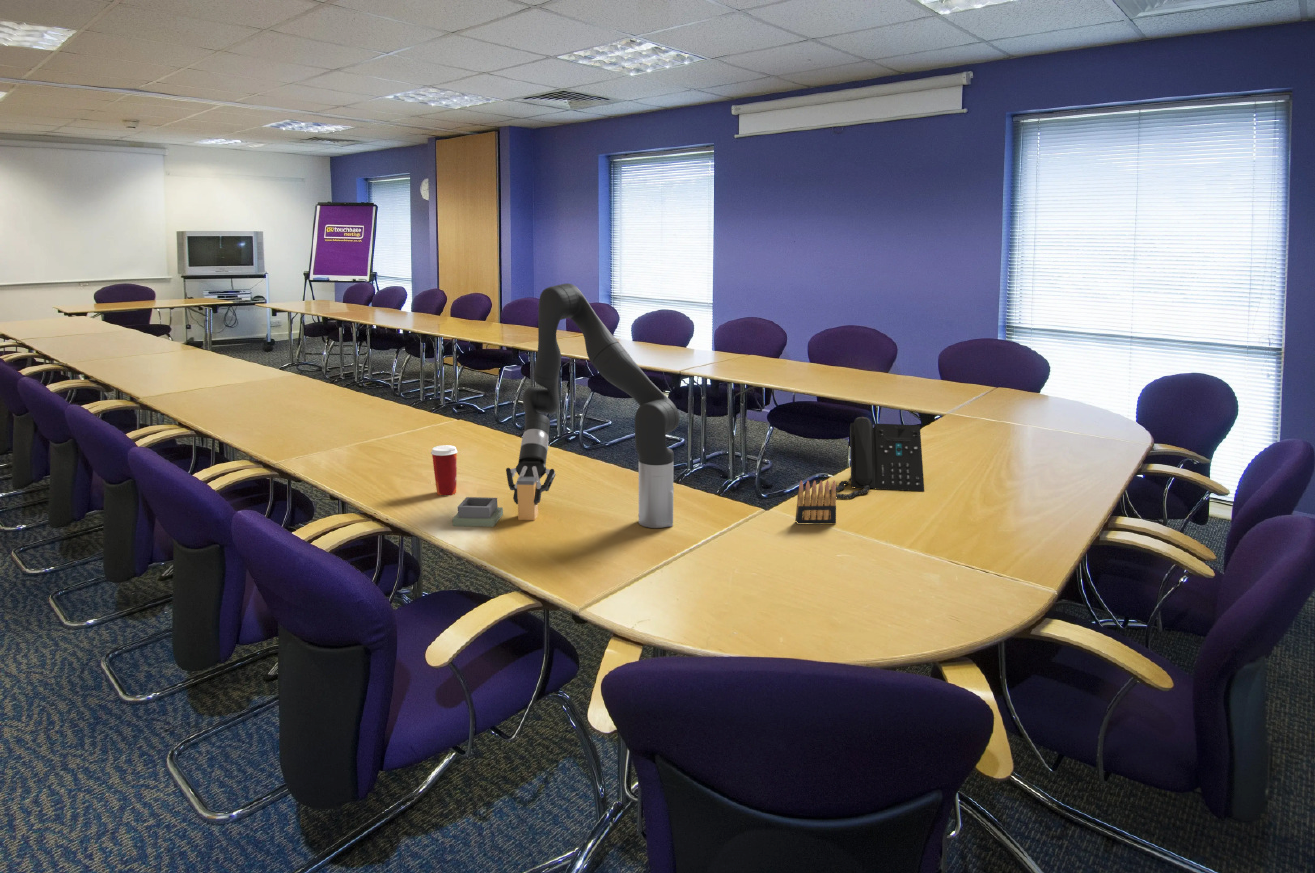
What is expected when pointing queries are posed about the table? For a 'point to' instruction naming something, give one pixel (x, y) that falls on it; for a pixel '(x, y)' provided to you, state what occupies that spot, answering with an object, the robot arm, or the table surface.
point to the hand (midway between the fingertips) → (526, 503)
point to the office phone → (884, 457)
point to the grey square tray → (478, 512)
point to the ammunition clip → (816, 504)
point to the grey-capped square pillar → (526, 498)
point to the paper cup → (445, 469)
